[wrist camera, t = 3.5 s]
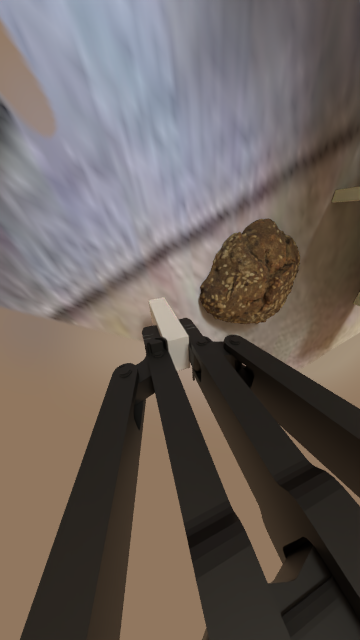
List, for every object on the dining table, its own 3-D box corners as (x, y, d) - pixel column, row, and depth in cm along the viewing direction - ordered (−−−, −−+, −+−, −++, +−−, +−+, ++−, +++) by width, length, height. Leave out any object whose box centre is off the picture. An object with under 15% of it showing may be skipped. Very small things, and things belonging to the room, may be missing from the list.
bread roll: (254, 324, 27) (279, 342, 23) (189, 310, 22) (205, 330, 17) (303, 242, 22) (346, 247, 18) (234, 199, 17) (271, 191, 12)
